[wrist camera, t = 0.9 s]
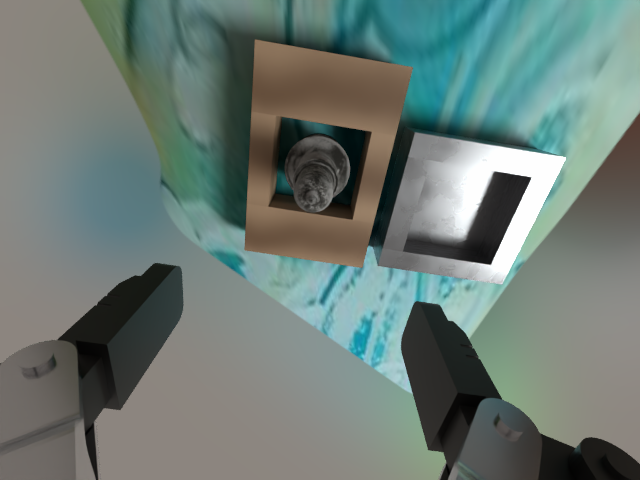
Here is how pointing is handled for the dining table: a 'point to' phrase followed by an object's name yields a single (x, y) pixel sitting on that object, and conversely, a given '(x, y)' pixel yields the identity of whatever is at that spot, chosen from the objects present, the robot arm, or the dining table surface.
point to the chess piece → (316, 171)
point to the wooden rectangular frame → (328, 108)
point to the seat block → (461, 205)
